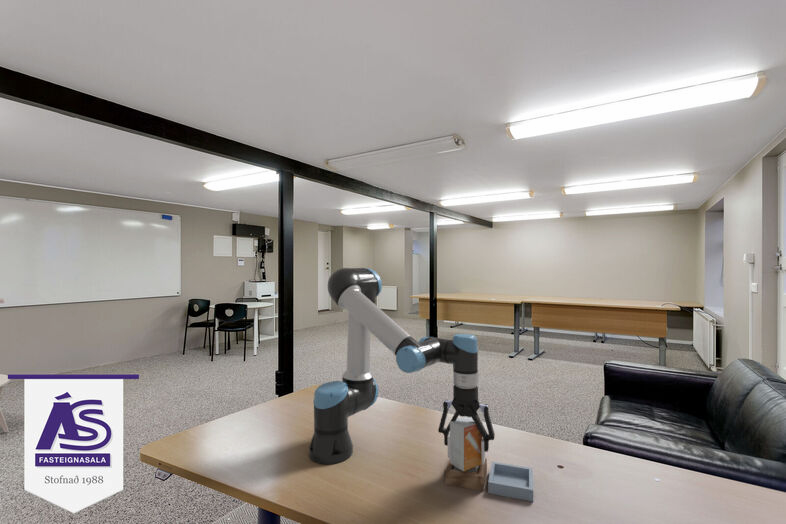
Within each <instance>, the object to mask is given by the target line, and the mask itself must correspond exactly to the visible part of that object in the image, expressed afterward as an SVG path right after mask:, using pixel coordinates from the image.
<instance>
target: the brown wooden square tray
mask: <svg viewBox="0 0 786 524" xmlns="http://www.w3.org/2000/svg"><path fill="white" fill-rule="evenodd" d="M487 460H488V458H486V457H485V463H484V464H482V465H480V467H479V471H478V474H474V473H468V472H462V471H457V470H453V469H454V465H452V464H451V463H450V459H449V460H448V462H447V465H446V467H445V473H444V477H445V480H444V481H445V483H444V484H445V485H448V486H454V487H455V486H456V487H461V488H465V489H471V490H475V491H481V492H484V488H485V483H486V478H487V474H488V461H487Z"/></svg>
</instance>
